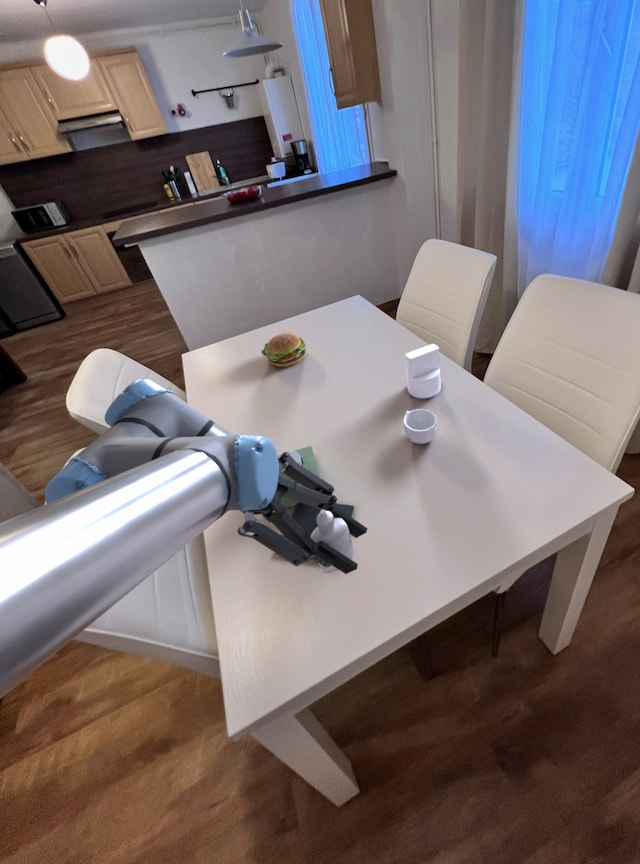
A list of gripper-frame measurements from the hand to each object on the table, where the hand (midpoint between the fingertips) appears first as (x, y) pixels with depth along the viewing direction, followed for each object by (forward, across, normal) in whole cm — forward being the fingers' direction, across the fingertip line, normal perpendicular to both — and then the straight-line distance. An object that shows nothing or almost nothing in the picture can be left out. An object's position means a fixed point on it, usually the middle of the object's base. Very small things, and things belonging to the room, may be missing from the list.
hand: (356, 550), depth 60 cm
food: (-23, -71, -41) cm, 85 cm away
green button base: (-6, -21, -24) cm, 33 cm away
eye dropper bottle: (0, 0, -5) cm, 5 cm away
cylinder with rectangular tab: (+11, -58, -7) cm, 59 cm away
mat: (0, -11, -18) cm, 21 cm away
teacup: (+12, -40, -7) cm, 42 cm away
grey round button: (-10, -21, -20) cm, 31 cm away
